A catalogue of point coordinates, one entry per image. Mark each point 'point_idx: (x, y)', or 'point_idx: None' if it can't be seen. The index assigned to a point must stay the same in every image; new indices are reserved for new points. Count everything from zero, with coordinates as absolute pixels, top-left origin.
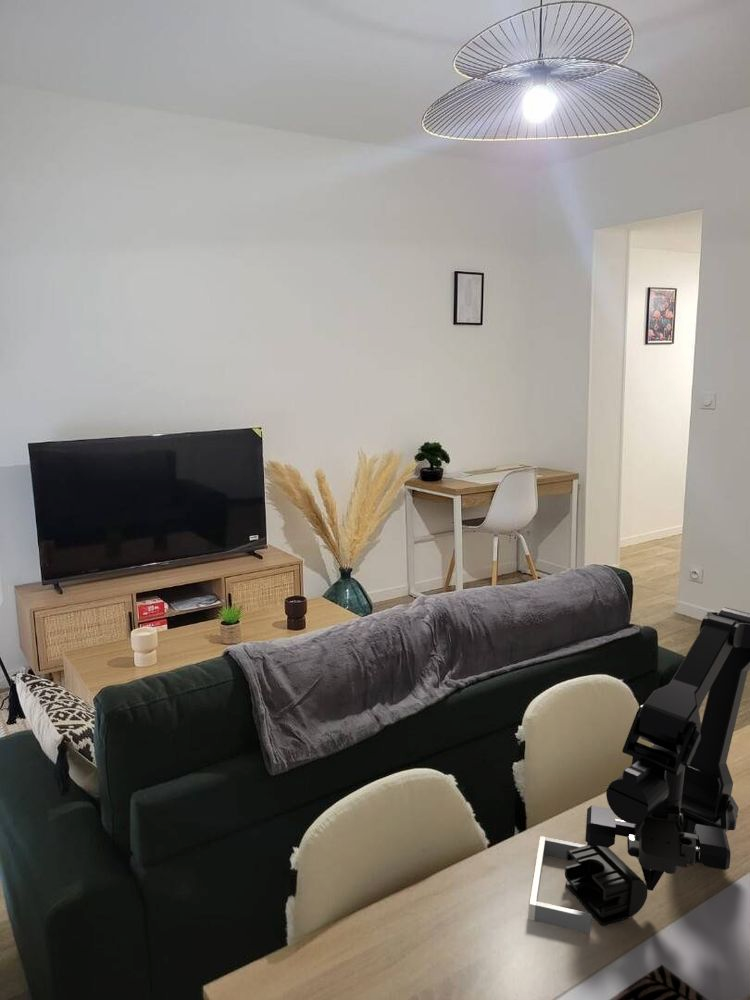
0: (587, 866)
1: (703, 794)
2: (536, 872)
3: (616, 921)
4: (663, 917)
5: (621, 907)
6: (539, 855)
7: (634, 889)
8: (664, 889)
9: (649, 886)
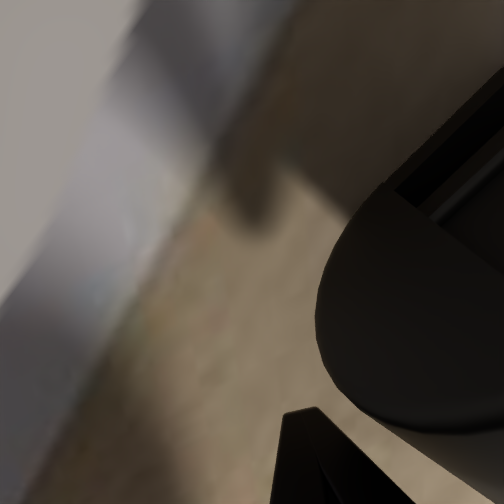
0: None
1: None
2: None
3: (442, 132)
4: (185, 306)
5: (482, 172)
6: None
7: (484, 310)
8: (211, 470)
9: (315, 430)
